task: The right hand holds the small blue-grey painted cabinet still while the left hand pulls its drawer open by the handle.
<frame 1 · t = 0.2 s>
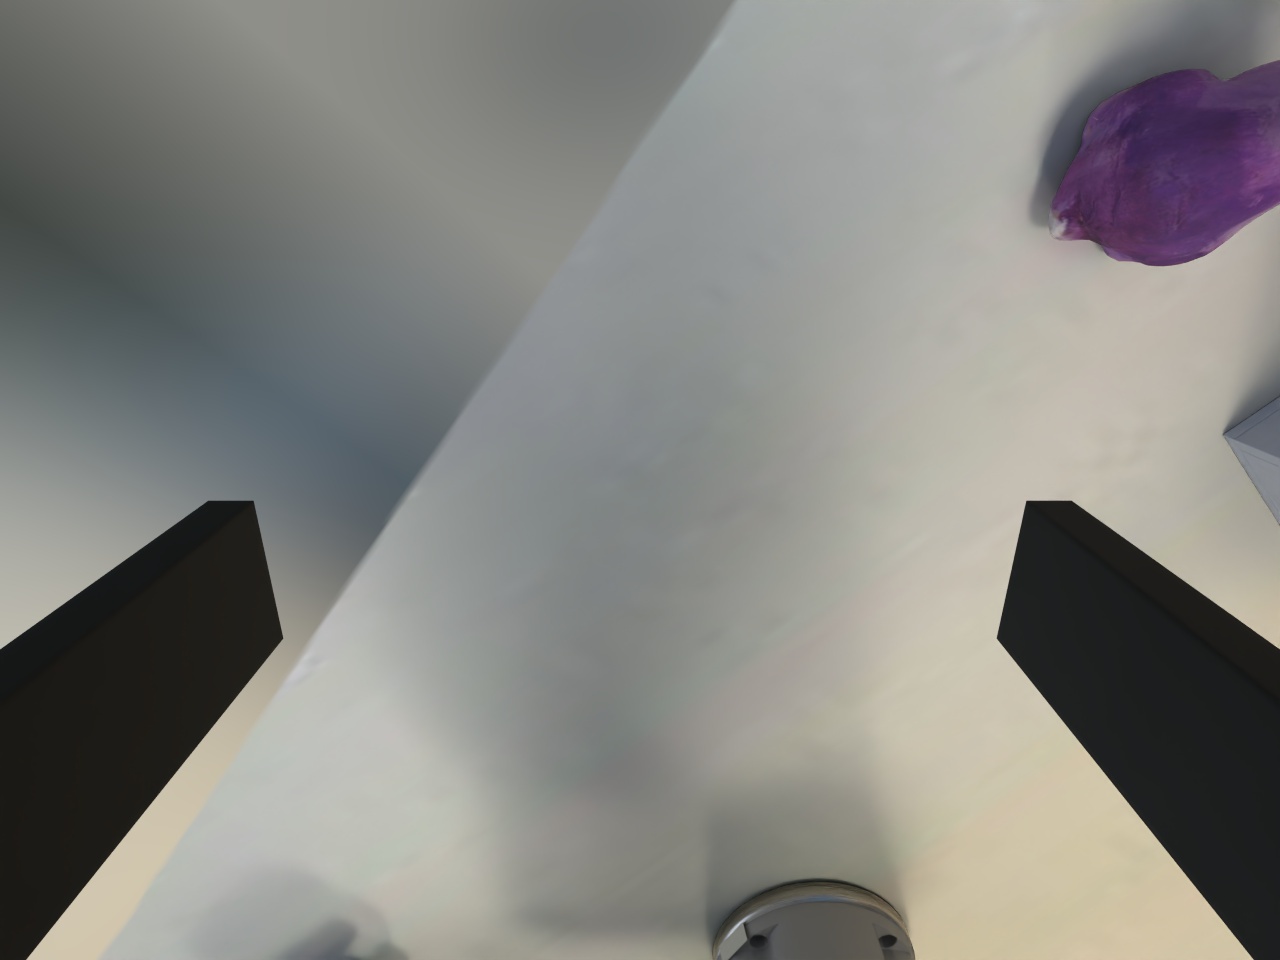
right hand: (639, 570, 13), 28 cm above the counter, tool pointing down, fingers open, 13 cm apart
figurine: (1150, 153, 36), on the counter
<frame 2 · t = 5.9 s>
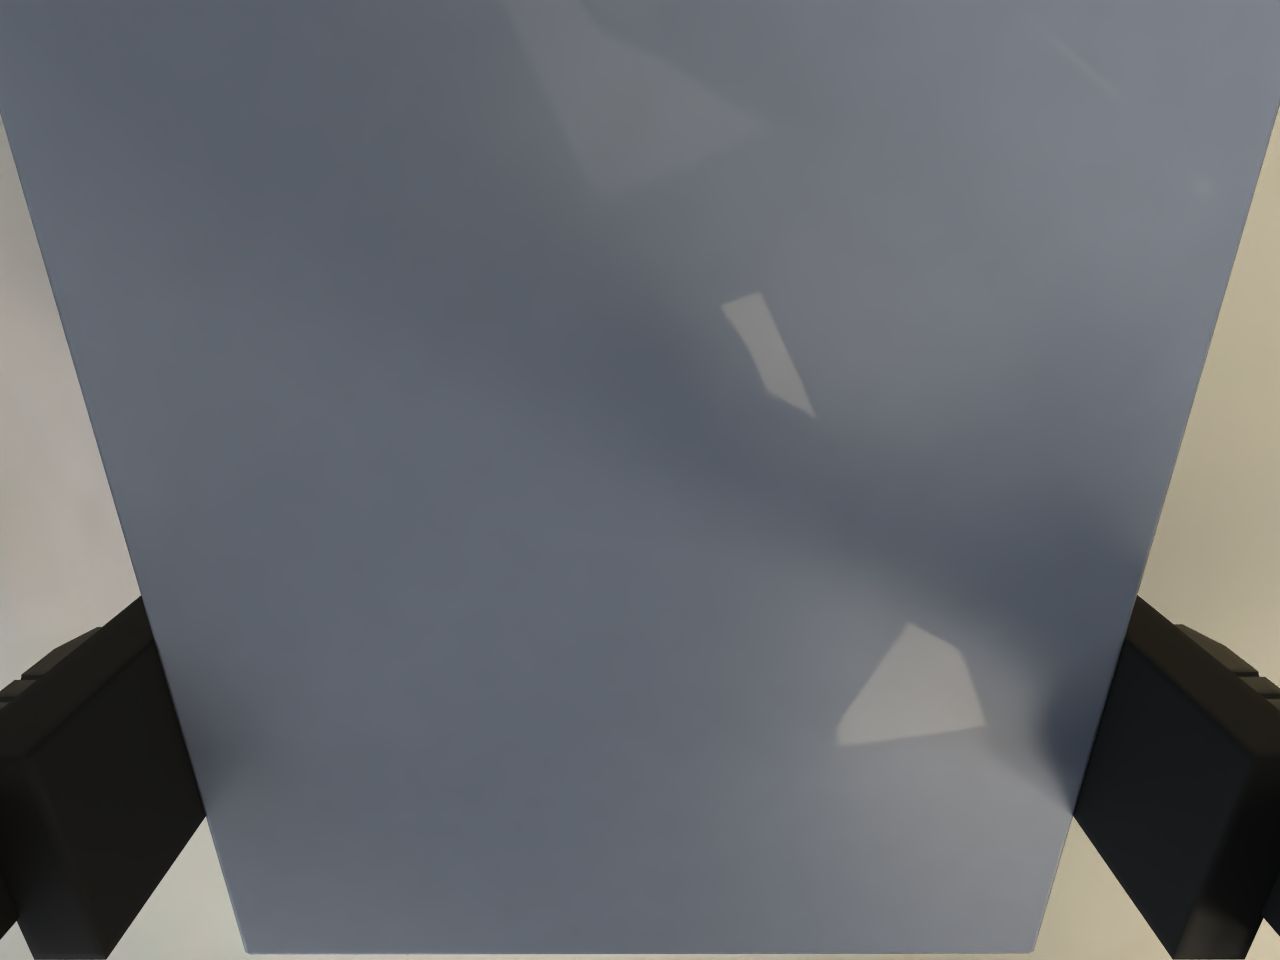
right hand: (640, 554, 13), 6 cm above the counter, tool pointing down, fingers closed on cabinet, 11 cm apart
cabinet: (639, 275, 18), on the counter, touching right hand
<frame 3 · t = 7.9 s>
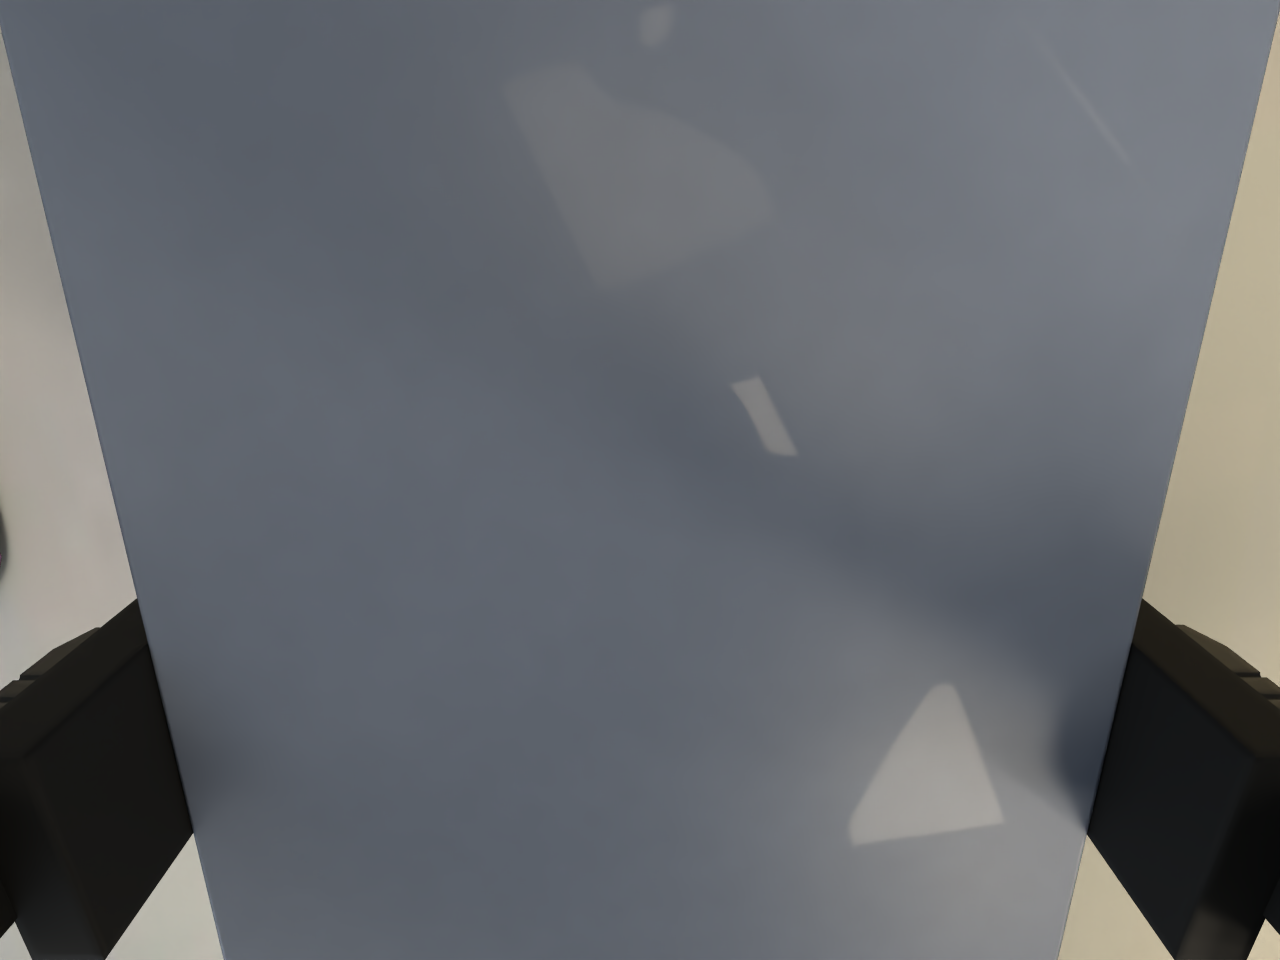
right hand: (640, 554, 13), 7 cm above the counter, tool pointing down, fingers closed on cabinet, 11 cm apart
cabinet: (639, 300, 18), on the counter, touching right hand
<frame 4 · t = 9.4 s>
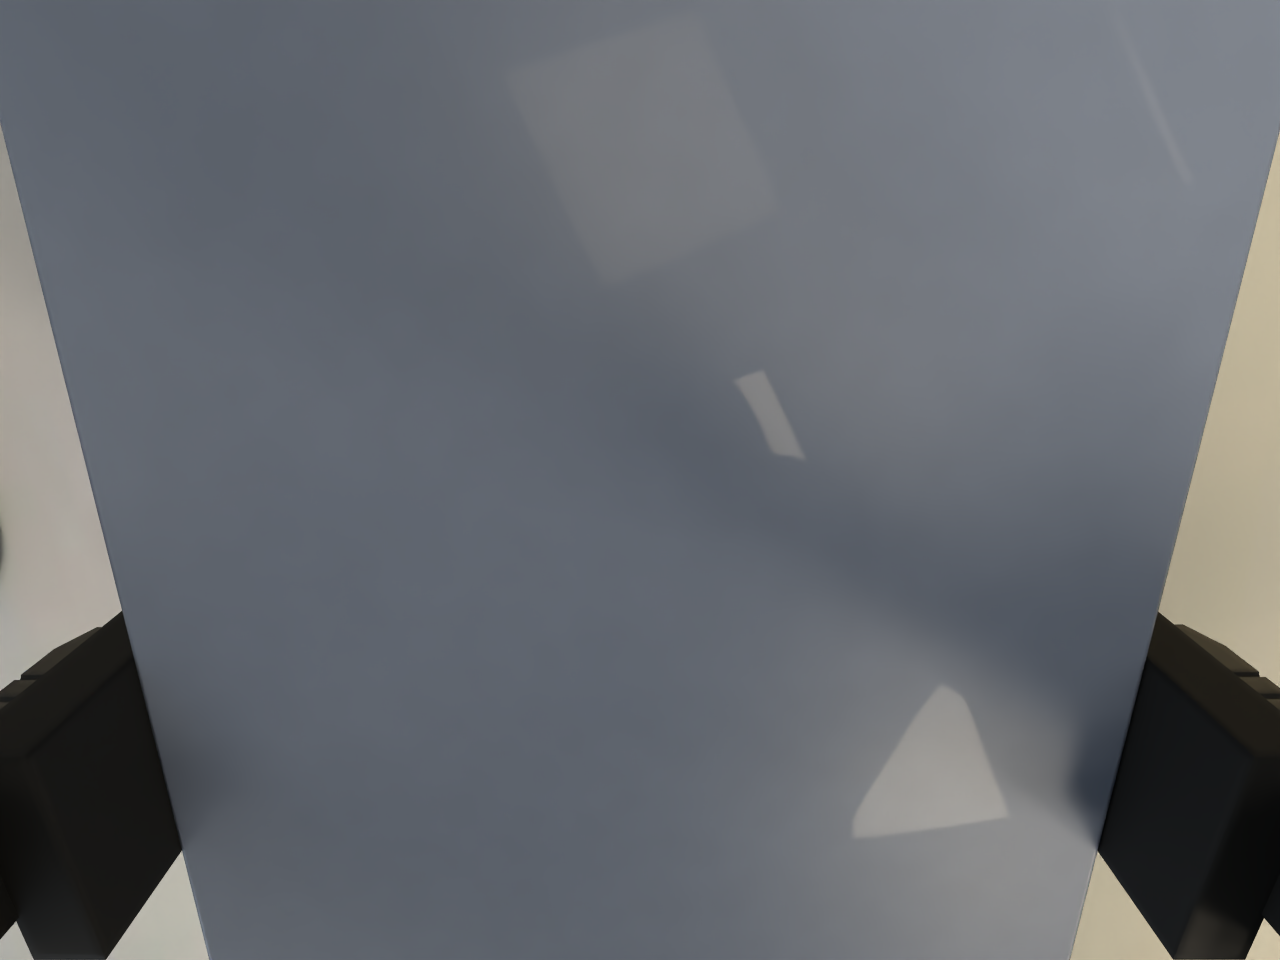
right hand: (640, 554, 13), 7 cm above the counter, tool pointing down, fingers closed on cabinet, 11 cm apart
cabinet: (641, 292, 17), on the counter, touching right hand
when the right hand's fingers open (6 cm above the counter, at t = 11.1 s): cabinet stays where it is, on the counter.
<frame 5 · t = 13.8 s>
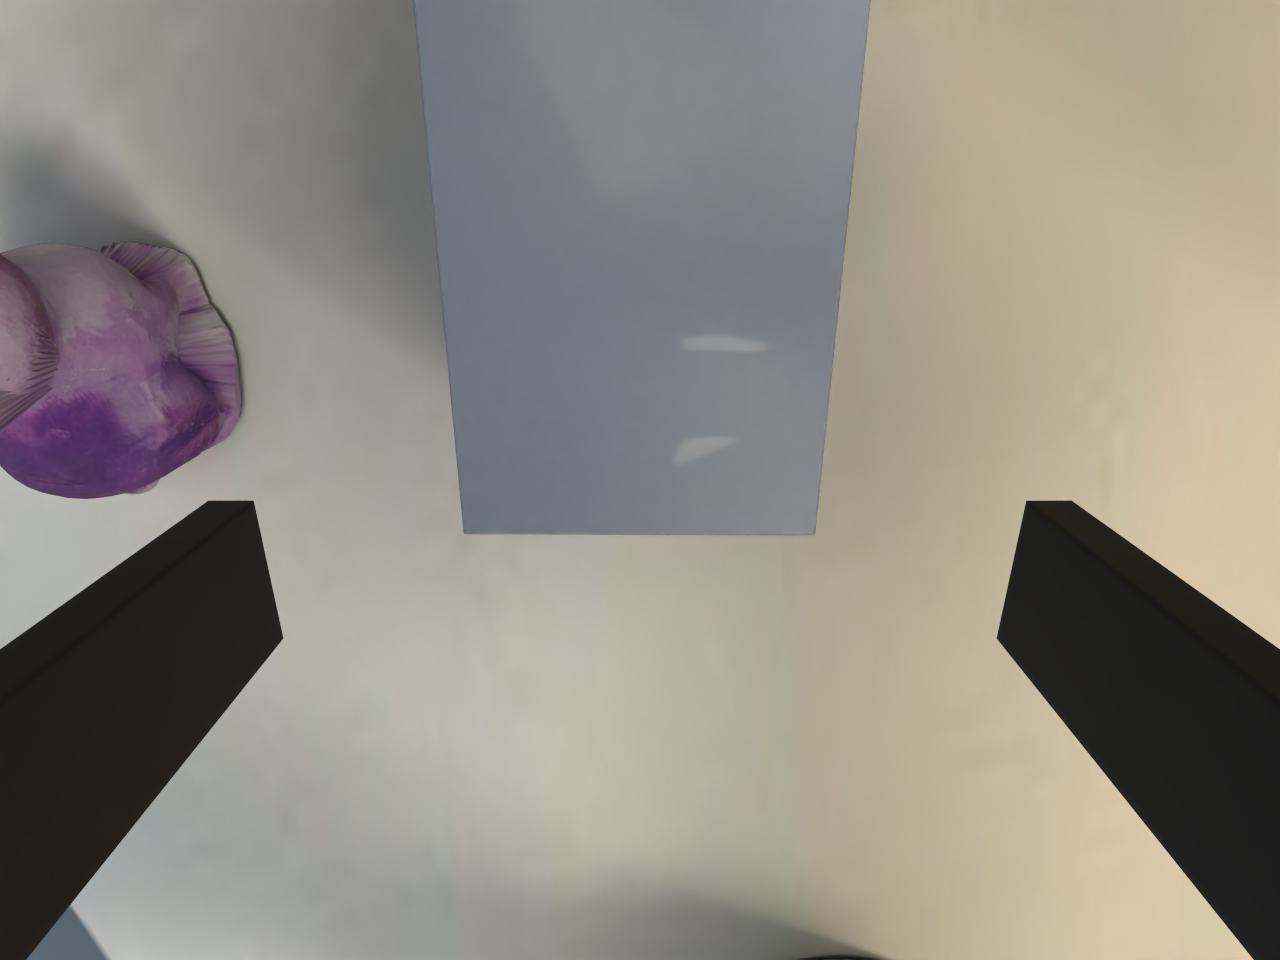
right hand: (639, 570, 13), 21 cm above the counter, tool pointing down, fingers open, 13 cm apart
cabinet: (640, 242, 30), on the counter
figurine: (148, 343, 32), on the counter
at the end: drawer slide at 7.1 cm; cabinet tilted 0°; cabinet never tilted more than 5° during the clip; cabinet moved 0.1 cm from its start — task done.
